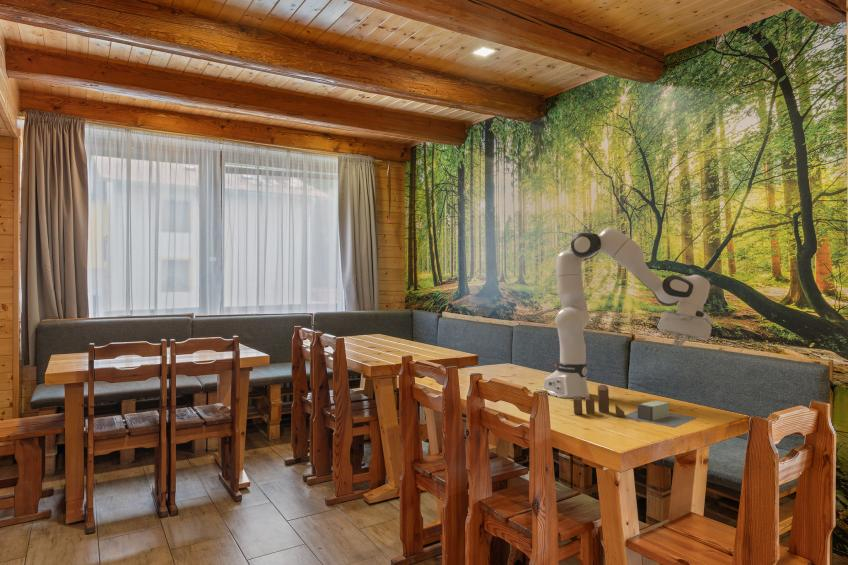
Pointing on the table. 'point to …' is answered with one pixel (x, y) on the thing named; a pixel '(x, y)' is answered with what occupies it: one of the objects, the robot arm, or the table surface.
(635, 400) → the table surface
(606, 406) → the wooden block set
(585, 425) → the table surface
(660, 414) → the sage block
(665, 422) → the slate mat
